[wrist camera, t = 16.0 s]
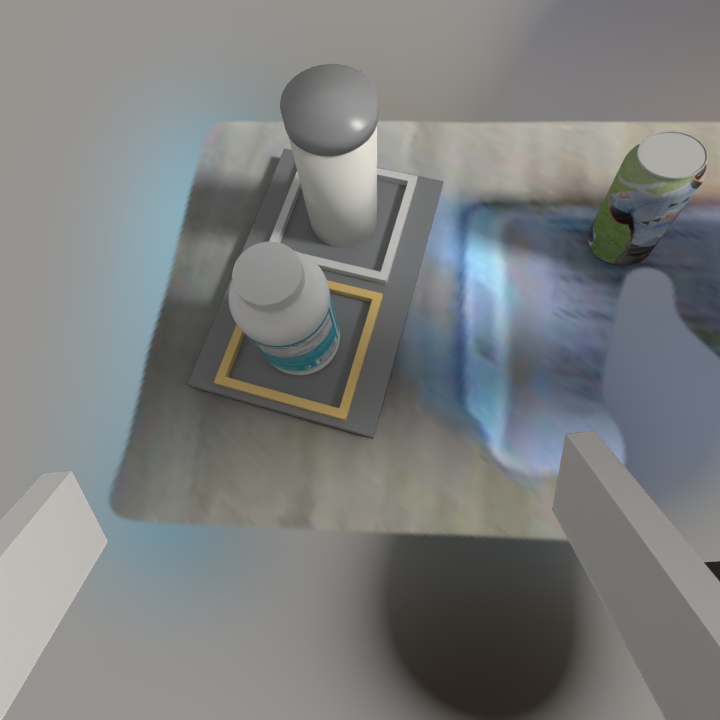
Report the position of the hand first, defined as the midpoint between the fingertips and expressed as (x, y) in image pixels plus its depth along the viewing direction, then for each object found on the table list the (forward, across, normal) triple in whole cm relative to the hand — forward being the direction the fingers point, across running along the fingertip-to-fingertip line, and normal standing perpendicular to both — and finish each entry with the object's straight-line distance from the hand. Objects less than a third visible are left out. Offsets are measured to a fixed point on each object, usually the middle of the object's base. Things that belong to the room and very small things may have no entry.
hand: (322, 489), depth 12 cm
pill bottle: (+29, -4, -9) cm, 30 cm away
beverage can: (+36, +27, -4) cm, 45 cm away
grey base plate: (+34, -2, -5) cm, 35 cm away
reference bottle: (+38, 0, +1) cm, 38 cm away
